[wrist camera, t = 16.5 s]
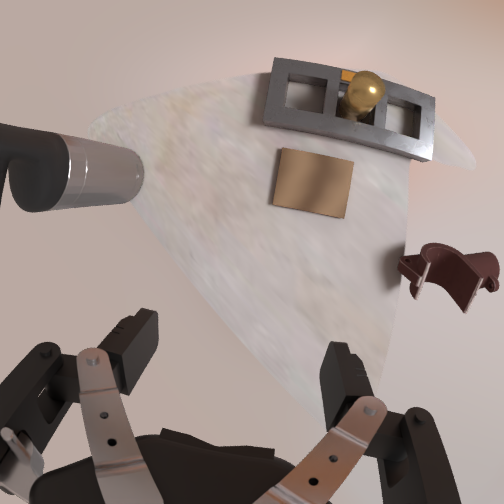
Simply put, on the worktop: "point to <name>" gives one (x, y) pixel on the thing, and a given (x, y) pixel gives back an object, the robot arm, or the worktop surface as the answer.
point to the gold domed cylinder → (361, 96)
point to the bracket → (451, 272)
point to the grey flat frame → (344, 128)
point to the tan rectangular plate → (313, 182)
